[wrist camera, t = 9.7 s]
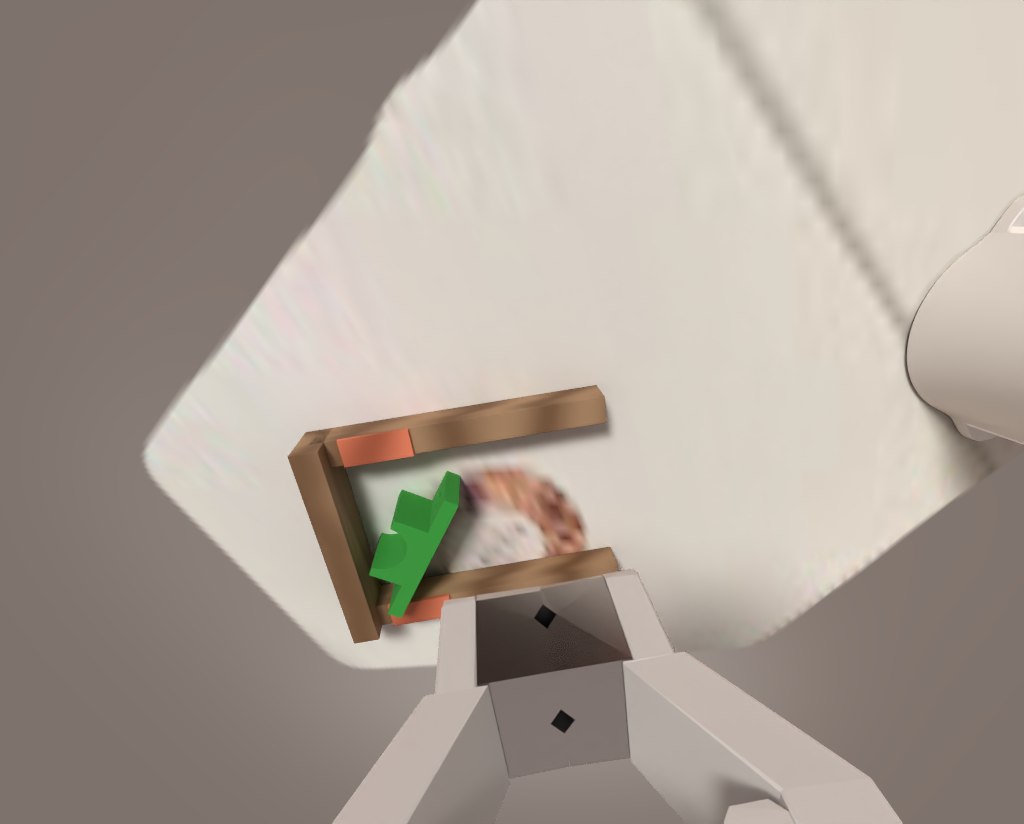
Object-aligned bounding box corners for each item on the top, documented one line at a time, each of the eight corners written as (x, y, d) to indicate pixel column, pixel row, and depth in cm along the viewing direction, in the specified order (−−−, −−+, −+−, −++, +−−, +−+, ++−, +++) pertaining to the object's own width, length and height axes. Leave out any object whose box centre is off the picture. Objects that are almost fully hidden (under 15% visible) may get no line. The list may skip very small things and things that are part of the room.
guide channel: (596, 384, 38) (609, 403, 34) (611, 565, 44) (624, 598, 41) (305, 431, 37) (287, 456, 34) (364, 607, 44) (354, 643, 40)
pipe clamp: (415, 457, 39) (409, 487, 35) (460, 474, 40) (459, 505, 36) (366, 566, 43) (355, 605, 38) (408, 579, 43) (401, 619, 39)
